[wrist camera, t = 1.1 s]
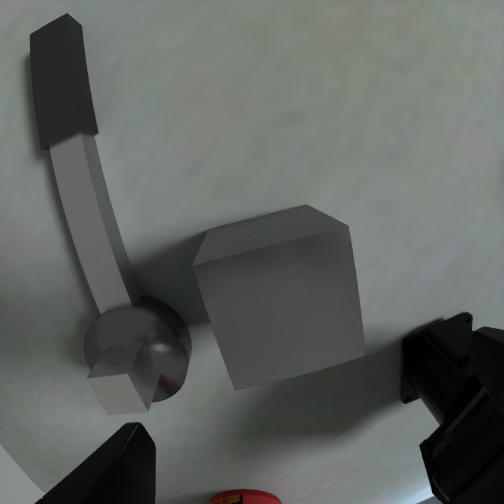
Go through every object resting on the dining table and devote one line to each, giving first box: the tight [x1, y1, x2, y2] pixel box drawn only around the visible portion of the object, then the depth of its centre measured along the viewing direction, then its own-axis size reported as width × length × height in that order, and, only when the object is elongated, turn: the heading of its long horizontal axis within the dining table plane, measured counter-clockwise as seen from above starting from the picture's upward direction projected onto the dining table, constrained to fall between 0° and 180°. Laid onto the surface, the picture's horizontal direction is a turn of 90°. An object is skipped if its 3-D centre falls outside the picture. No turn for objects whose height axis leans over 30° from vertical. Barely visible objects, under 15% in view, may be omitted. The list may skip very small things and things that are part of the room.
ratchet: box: [30, 13, 192, 415], centre depth 14 cm, size 24×6×6 cm, turn 14°
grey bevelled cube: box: [192, 205, 365, 390], centre depth 15 cm, size 6×6×7 cm
